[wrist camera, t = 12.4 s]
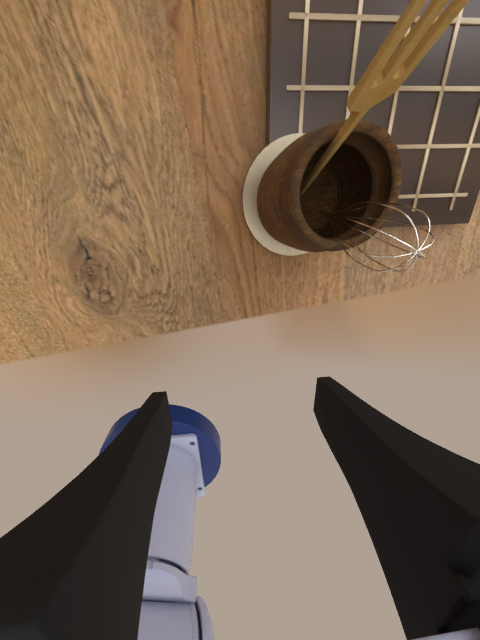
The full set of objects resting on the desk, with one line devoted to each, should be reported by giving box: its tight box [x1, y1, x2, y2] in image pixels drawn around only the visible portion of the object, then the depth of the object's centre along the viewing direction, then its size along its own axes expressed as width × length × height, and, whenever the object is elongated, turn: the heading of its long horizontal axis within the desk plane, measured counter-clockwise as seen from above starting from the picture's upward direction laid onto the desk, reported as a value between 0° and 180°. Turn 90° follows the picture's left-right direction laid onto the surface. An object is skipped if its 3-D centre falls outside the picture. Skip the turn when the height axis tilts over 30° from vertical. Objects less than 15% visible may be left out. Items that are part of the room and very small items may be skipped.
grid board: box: [243, 0, 480, 256], centre depth 15 cm, size 18×18×1 cm
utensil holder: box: [257, 0, 469, 272], centre depth 11 cm, size 6×6×12 cm
